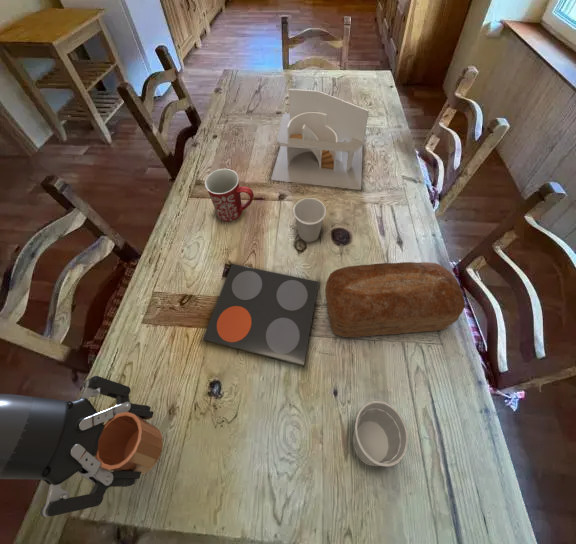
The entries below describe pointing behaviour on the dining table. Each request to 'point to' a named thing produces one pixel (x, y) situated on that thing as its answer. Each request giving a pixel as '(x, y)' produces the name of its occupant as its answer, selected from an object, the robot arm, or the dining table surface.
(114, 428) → the cup
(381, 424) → the cup
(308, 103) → the architectural model
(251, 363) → the dining table surface
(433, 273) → the bread
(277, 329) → the stove
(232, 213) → the mug
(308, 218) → the dixie cup
